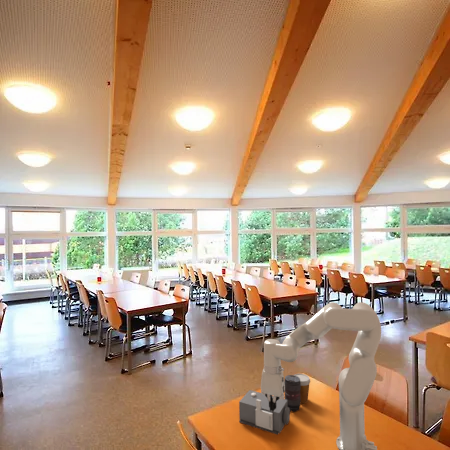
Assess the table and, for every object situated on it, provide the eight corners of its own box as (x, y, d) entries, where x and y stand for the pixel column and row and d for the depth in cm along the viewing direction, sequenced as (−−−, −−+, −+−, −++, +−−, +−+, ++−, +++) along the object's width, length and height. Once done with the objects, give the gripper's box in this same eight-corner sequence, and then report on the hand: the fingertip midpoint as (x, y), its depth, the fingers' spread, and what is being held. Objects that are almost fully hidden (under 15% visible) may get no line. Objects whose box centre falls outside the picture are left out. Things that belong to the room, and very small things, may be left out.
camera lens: (301, 413, 151) (300, 382, 151) (284, 411, 152) (284, 381, 152) (300, 404, 159) (300, 375, 159) (284, 402, 160) (284, 373, 160)
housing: (291, 419, 146) (290, 399, 146) (282, 436, 134) (281, 413, 134) (249, 407, 156) (249, 388, 156) (238, 422, 145) (238, 401, 145)
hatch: (273, 429, 137) (272, 403, 137) (272, 430, 136) (271, 404, 136) (256, 424, 141) (256, 398, 141) (255, 425, 140) (255, 400, 140)
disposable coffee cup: (288, 397, 165) (288, 375, 165) (302, 393, 169) (302, 371, 169) (300, 407, 156) (299, 383, 156) (314, 402, 160) (314, 379, 160)
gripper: (291, 368, 137) (291, 409, 136) (260, 361, 144) (260, 400, 143) (285, 375, 130) (286, 419, 130) (253, 368, 137) (254, 409, 137)
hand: (272, 409), depth 137 cm, fingers closed
